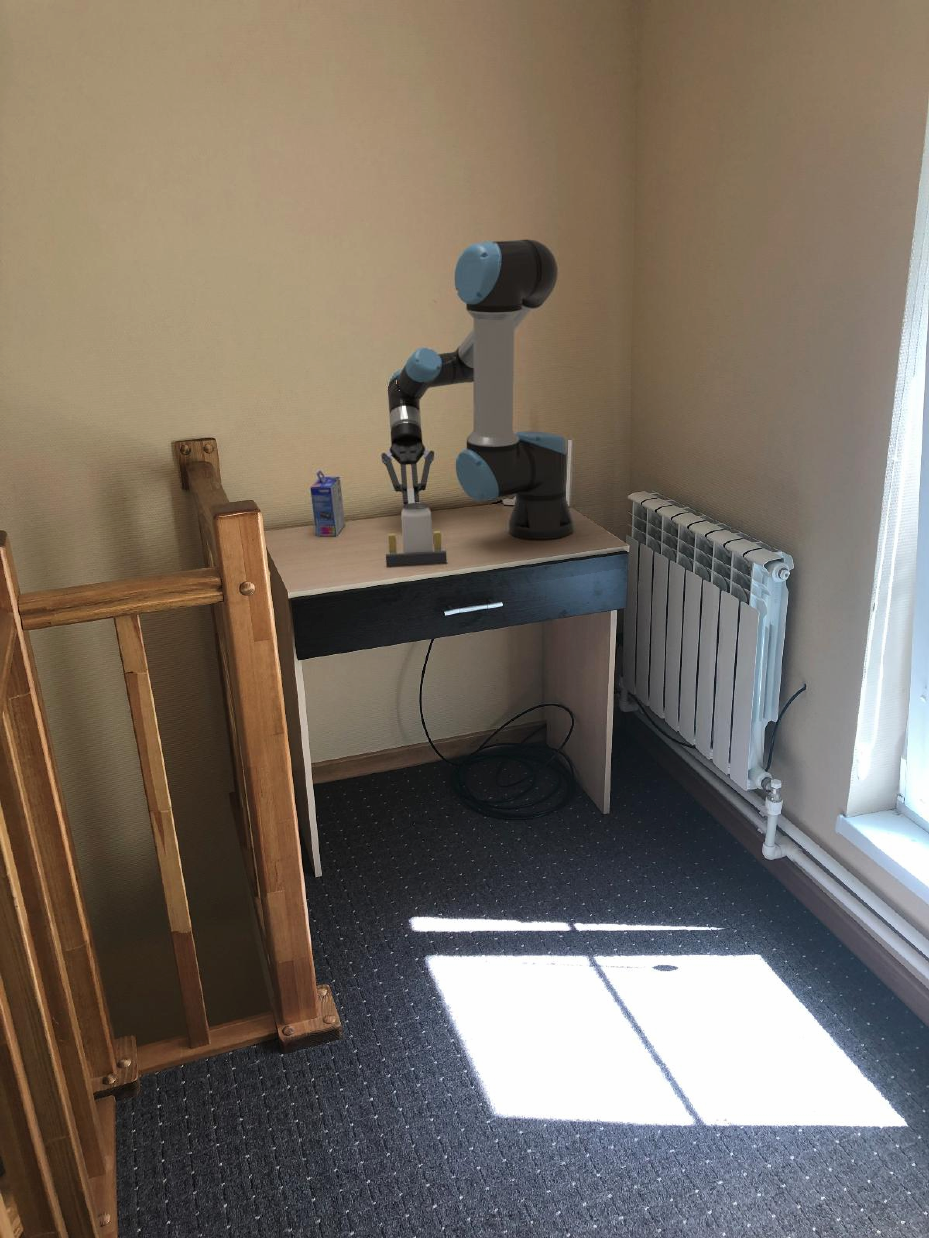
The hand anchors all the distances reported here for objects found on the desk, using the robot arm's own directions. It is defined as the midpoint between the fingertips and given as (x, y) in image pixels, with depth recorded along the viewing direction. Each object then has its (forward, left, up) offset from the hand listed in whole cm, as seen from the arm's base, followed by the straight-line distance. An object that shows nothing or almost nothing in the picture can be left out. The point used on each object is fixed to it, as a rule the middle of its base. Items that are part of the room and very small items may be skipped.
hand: (412, 515), depth 239 cm
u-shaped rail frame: (0, +11, -5) cm, 12 cm away
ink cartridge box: (+20, -9, -5) cm, 23 cm away
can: (-1, +17, -5) cm, 18 cm away
